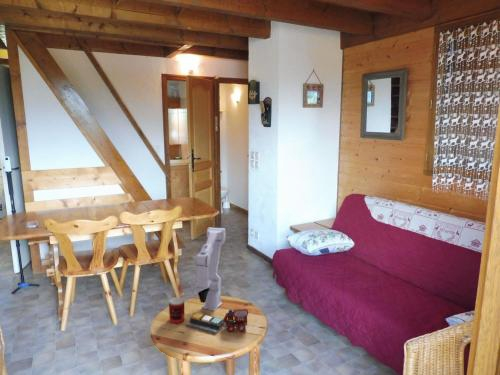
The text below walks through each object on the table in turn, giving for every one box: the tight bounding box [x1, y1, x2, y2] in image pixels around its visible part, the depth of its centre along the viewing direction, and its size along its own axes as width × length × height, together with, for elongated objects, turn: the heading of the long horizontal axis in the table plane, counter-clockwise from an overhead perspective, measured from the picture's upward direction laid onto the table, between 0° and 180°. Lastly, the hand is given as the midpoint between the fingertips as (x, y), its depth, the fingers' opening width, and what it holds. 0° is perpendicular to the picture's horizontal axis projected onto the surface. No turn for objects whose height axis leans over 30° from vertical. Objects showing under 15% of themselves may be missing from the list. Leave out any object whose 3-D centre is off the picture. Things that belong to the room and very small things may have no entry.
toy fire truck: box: [222, 308, 249, 333], centre depth 188 cm, size 7×12×10 cm, turn 96°
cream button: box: [202, 314, 212, 323], centre depth 192 cm, size 4×4×2 cm
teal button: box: [211, 317, 223, 325], centre depth 190 cm, size 4×4×2 cm
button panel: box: [185, 312, 224, 335], centre depth 192 cm, size 12×17×3 cm
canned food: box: [168, 296, 186, 325], centre depth 195 cm, size 8×8×11 cm
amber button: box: [191, 312, 204, 320], centre depth 194 cm, size 4×4×2 cm
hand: (203, 302), depth 195 cm, fingers closed
